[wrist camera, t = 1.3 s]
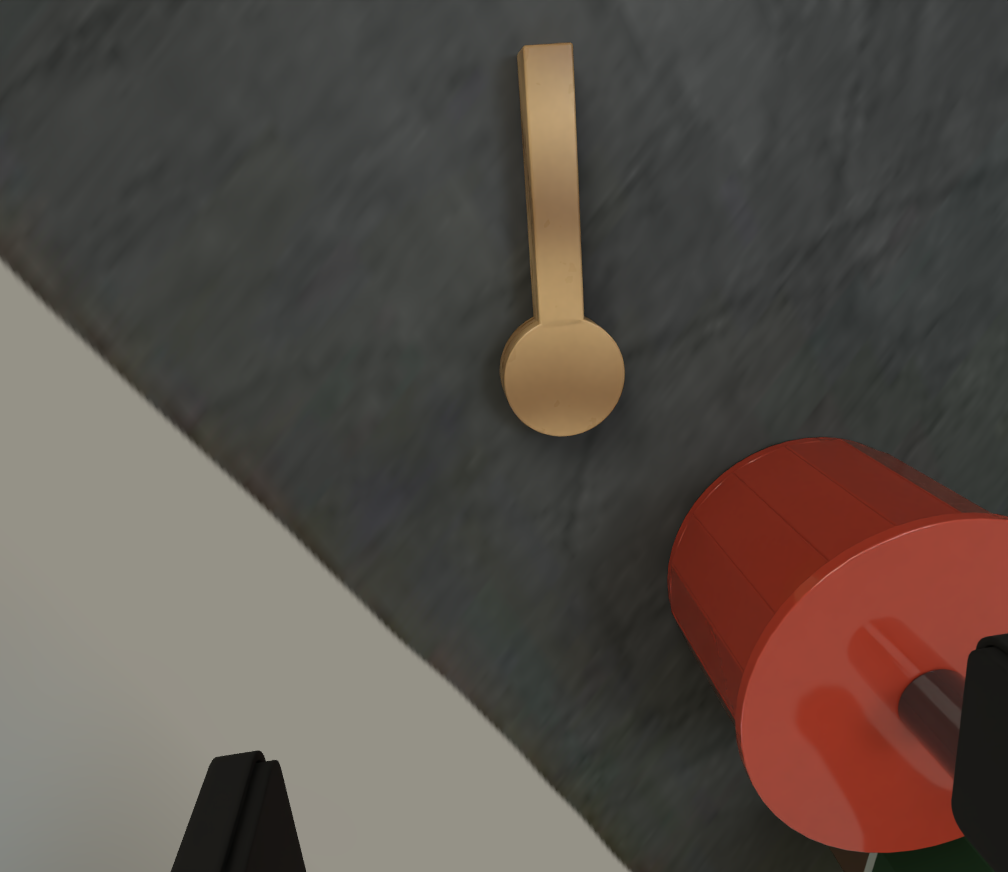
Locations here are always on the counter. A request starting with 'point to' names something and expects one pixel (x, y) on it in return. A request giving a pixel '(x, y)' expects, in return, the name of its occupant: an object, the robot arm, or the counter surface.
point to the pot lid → (874, 684)
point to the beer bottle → (916, 859)
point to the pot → (782, 539)
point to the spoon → (556, 266)
